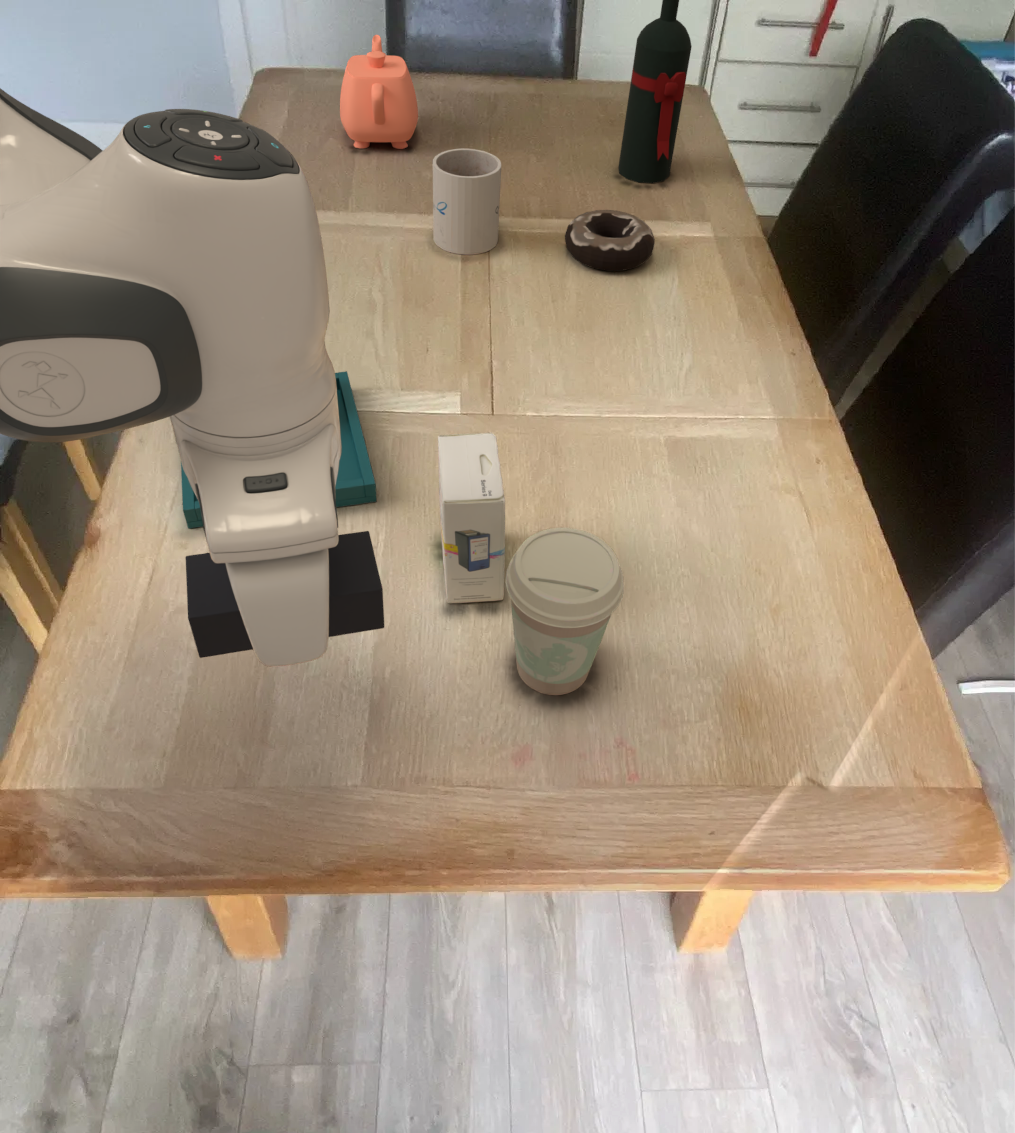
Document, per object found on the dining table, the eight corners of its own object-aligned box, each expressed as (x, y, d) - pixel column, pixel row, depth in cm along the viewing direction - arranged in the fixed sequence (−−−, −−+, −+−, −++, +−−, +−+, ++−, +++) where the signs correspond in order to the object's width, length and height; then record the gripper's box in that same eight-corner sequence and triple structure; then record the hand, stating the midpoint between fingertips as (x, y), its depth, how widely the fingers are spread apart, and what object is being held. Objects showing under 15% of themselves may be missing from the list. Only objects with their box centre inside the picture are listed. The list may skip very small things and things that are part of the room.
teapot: (421, 162, 136) (419, 76, 127) (341, 162, 134) (333, 75, 125) (415, 111, 149) (414, 29, 140) (343, 110, 148) (336, 28, 139)
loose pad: (199, 658, 58) (187, 618, 55) (196, 596, 62) (185, 555, 59) (384, 628, 61) (382, 588, 58) (371, 570, 64) (368, 530, 62)
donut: (621, 286, 114) (626, 257, 111) (545, 255, 118) (548, 226, 115) (668, 253, 120) (673, 224, 117) (594, 224, 125) (598, 196, 122)
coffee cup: (477, 666, 72) (481, 563, 63) (547, 608, 77) (560, 505, 68) (558, 730, 68) (574, 630, 60) (627, 666, 73) (651, 564, 64)
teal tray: (188, 529, 81) (182, 510, 79) (182, 408, 93) (177, 389, 91) (376, 501, 85) (375, 483, 83) (348, 389, 96) (347, 371, 95)
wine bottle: (632, 191, 132) (669, -50, 111) (610, 162, 139) (641, -71, 117) (682, 188, 134) (728, -51, 112) (658, 159, 141) (697, -71, 119)
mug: (496, 256, 117) (500, 179, 110) (430, 252, 117) (429, 175, 110) (499, 213, 126) (503, 139, 118) (437, 209, 126) (437, 135, 118)
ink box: (503, 602, 77) (511, 500, 68) (442, 605, 76) (442, 502, 68) (493, 531, 83) (499, 429, 74) (437, 534, 82) (436, 430, 73)
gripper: (193, 332, 56) (228, 497, 66) (208, 567, 43) (249, 730, 53) (296, 323, 57) (315, 486, 67) (342, 548, 44) (357, 710, 54)
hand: (286, 595), depth 60 cm, fingers closed on loose pad, 5 cm apart
